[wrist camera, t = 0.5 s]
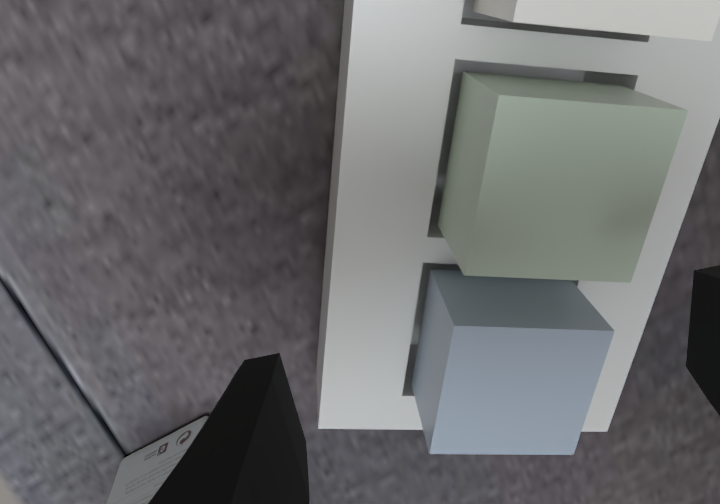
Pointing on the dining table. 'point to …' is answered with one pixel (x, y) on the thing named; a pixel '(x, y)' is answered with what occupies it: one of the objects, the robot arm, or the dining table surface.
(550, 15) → the key cream
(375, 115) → the key strip
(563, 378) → the key slate
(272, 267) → the dining table surface
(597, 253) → the key sage
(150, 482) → the skincare box
